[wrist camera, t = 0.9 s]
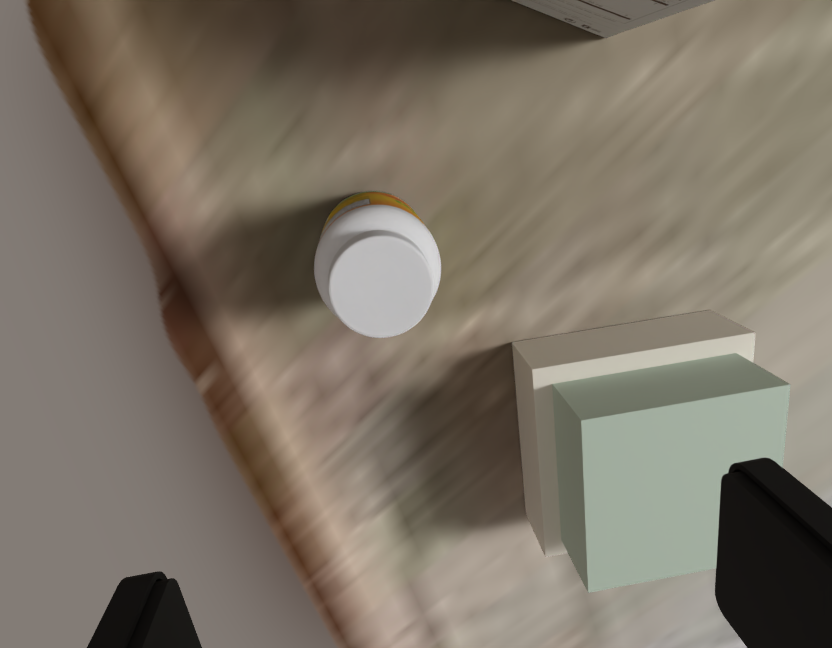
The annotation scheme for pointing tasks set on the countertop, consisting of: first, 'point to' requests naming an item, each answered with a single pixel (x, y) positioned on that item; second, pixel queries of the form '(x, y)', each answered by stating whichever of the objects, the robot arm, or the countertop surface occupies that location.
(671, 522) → the block
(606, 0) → the supplement box
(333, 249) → the supplement bottle
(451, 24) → the countertop surface
